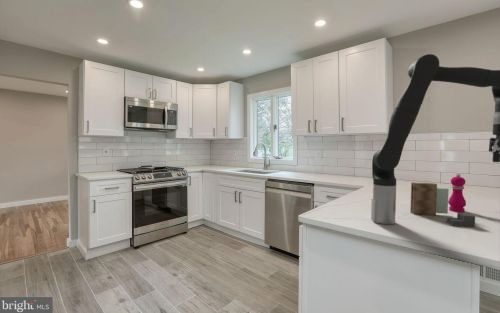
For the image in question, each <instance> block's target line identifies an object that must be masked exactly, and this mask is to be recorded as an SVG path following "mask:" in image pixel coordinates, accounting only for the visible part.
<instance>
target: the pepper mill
mask: <svg viewBox="0 0 500 313" xmlns="http://www.w3.org/2000/svg"><path fill="white" fill-rule="evenodd" d="M466 183H467V182H466V180H465V178H464V177H461V174H460V173H457V174H455V176H453V177H452V178H451V179H450V184H451V189H452V192H451V195H450V197H448V205H450V206H448V211H451V212H455V213H466V212H465V211H466V210H465V207H466V206H467V201H466V199H465V197H464V194H463V190H464V189H465V185H466Z"/></svg>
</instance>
